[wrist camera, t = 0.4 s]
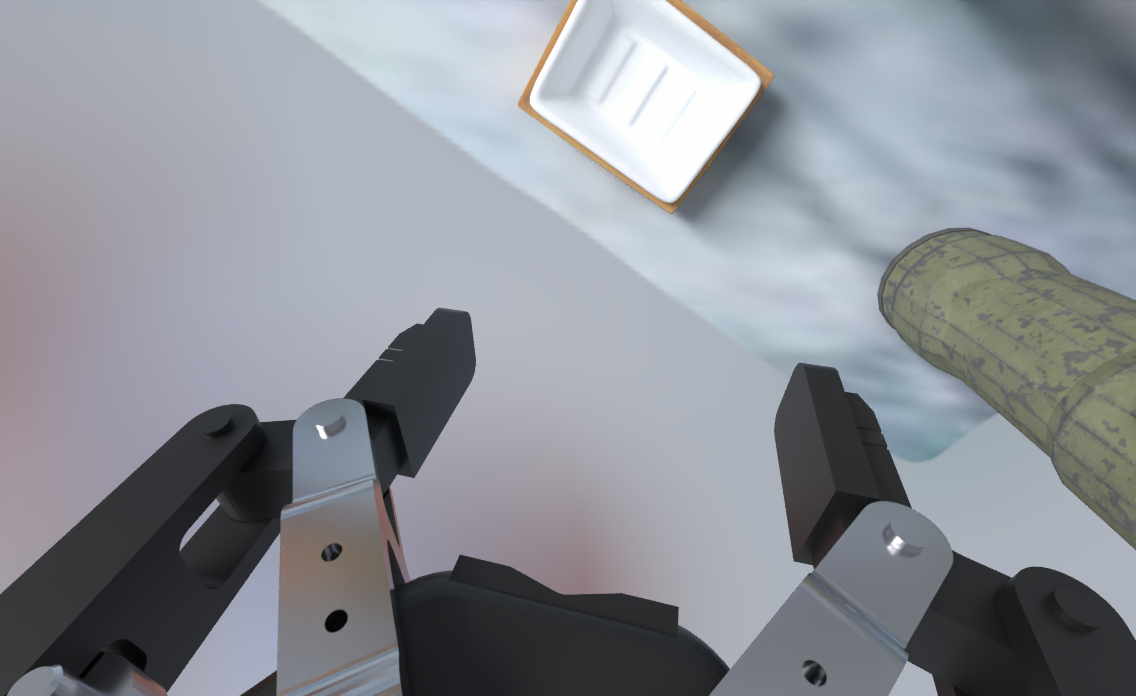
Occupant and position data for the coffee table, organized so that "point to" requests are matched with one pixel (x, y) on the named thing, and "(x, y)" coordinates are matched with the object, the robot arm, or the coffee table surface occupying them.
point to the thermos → (1029, 353)
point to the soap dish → (644, 91)
